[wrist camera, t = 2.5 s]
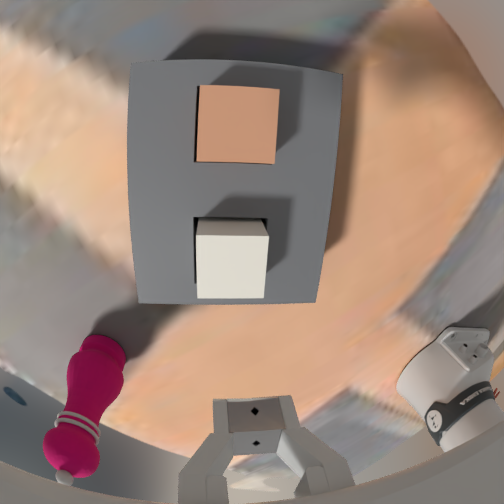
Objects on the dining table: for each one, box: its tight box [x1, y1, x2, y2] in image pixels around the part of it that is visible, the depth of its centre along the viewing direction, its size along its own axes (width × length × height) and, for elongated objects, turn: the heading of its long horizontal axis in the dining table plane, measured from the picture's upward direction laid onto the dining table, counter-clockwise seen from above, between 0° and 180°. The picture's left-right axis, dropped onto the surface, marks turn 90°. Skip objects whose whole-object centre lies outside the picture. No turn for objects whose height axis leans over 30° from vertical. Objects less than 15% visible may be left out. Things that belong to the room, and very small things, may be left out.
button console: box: [127, 59, 343, 305], centre depth 25 cm, size 16×20×6 cm
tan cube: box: [197, 85, 280, 164], centre depth 20 cm, size 5×5×5 cm
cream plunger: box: [196, 217, 269, 298], centre depth 24 cm, size 5×5×5 cm
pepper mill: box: [43, 335, 126, 486], centre depth 25 cm, size 7×7×20 cm
